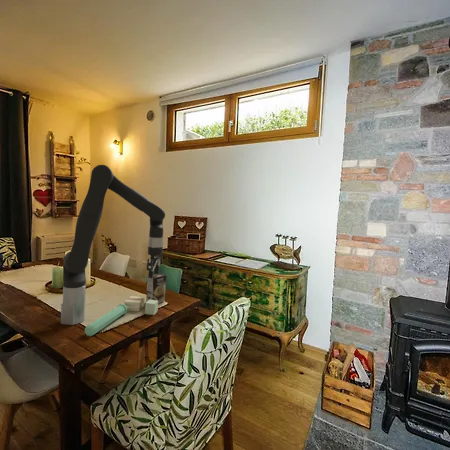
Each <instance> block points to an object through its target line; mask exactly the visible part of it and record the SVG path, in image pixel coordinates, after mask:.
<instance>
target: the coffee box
mask: <svg viewBox="0 0 450 450" xmlns="http://www.w3.org/2000/svg"><path fill="white" fill-rule="evenodd" d="M146 284H147V285H146V297H145V298H146V299H145V303H146V302H147V301H148V300H157V301H158V304H161V302H162V303H165V302H166V301H165V300H166V285H167V275H166V274H163V273H160V272H159V273H158V274H155V273H153V278H148V277H147V283H146Z"/></svg>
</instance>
